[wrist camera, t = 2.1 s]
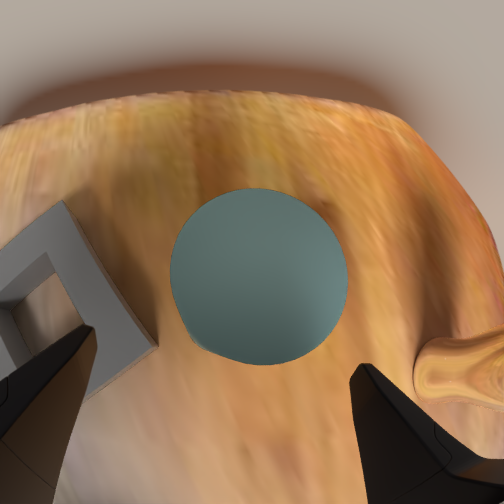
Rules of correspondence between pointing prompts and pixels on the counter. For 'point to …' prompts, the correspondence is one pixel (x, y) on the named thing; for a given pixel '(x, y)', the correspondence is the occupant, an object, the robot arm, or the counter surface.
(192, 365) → the counter surface
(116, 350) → the socket block
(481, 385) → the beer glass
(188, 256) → the peg
